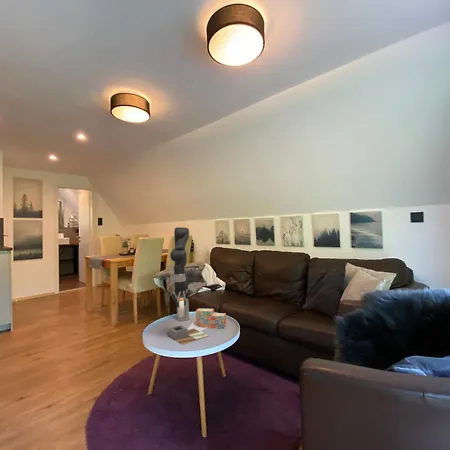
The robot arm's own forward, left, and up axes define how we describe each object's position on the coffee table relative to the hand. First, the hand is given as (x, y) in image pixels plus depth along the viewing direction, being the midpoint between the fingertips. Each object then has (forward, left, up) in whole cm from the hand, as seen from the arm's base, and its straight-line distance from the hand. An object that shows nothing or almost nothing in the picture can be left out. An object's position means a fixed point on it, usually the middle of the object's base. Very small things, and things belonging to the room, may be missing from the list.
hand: (181, 306), depth 185 cm
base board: (+3, +3, -21) cm, 22 cm away
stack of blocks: (-5, +27, -22) cm, 35 cm away
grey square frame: (-2, -2, -20) cm, 20 cm away
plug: (0, 0, -6) cm, 6 cm away
